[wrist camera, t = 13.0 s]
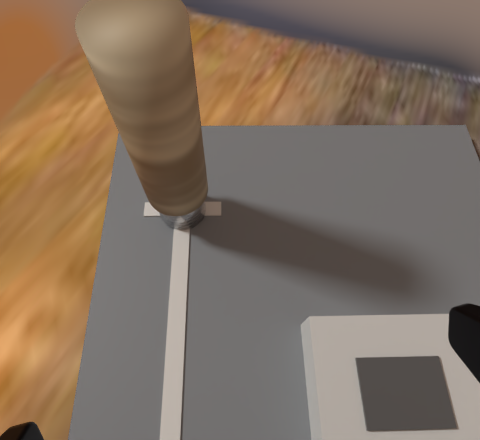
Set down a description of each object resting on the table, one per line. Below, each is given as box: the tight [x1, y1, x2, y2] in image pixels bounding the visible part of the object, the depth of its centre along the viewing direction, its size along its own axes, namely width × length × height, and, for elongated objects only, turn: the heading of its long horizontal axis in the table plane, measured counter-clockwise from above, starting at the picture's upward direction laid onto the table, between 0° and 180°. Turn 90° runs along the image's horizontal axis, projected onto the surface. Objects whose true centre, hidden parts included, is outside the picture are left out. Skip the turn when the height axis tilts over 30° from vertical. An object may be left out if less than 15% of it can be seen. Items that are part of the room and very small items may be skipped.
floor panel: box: [68, 125, 480, 440], centre depth 22 cm, size 24×26×1 cm
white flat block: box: [301, 314, 480, 440], centre depth 17 cm, size 7×12×3 cm, turn 91°
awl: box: [75, 0, 208, 230], centre depth 17 cm, size 4×4×13 cm
